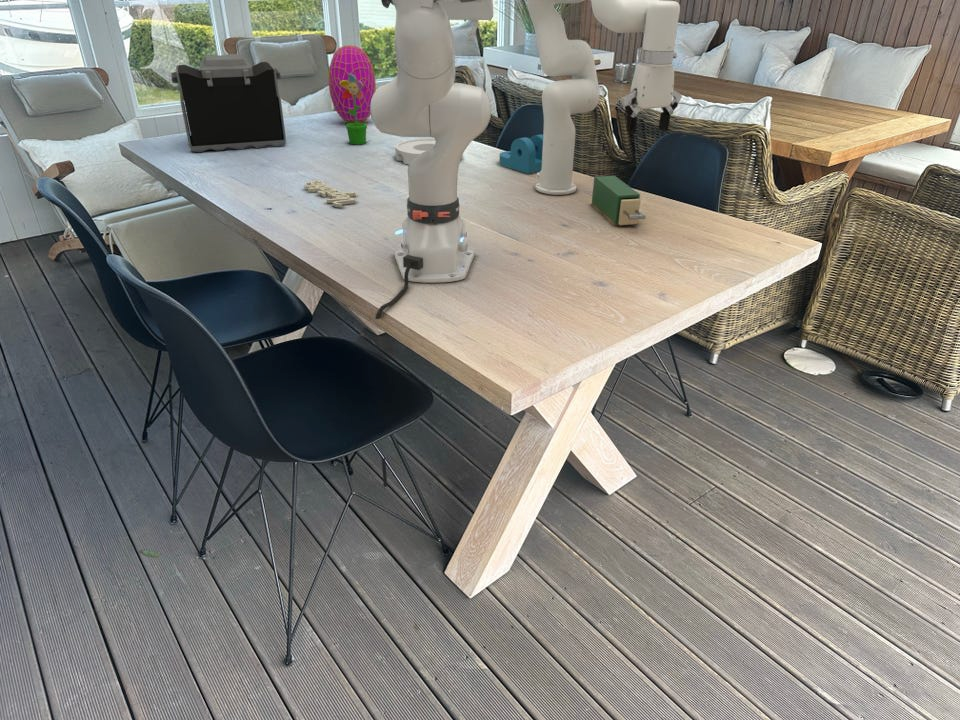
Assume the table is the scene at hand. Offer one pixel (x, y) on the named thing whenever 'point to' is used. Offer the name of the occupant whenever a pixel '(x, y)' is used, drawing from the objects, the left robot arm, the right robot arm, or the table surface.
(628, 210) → the drawer
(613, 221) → the cabinet
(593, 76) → the right robot arm
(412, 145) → the ashtray
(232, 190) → the table surface
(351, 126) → the potted flower
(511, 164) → the camera mount
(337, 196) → the decorative sign
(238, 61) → the electronic device
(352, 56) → the decorative egg
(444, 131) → the left robot arm
